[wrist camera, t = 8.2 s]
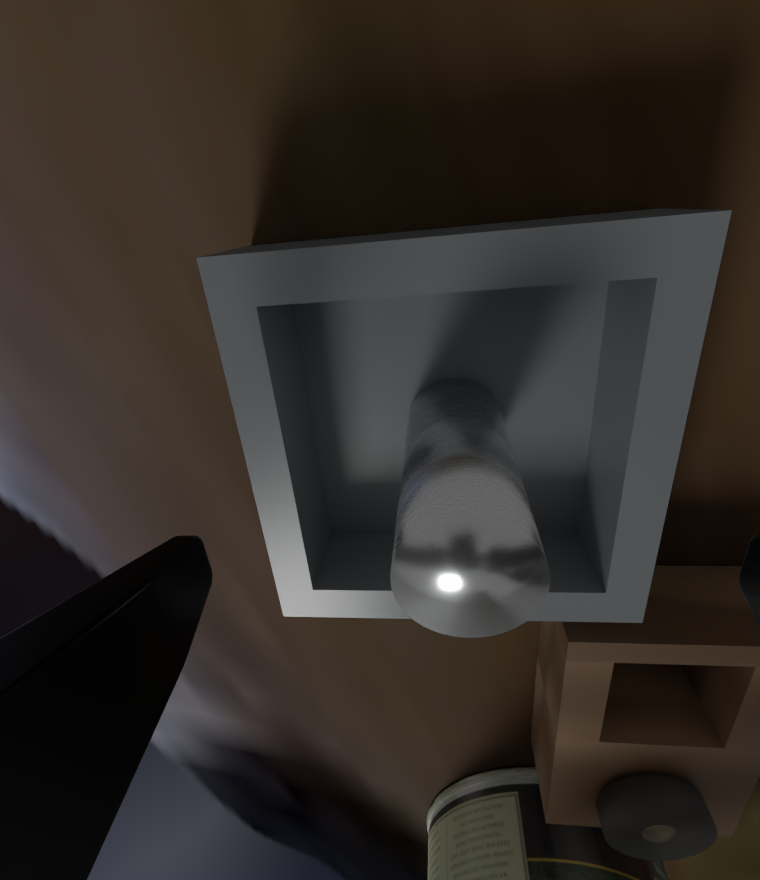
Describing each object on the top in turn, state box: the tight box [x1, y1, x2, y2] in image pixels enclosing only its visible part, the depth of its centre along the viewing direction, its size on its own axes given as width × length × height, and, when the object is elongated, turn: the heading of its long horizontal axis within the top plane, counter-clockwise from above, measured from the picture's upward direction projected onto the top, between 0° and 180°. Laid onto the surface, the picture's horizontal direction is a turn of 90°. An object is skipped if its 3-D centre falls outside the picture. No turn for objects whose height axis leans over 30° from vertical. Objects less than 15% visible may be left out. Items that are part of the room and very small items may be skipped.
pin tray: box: [197, 208, 732, 623], centre depth 12 cm, size 10×10×3 cm
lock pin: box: [390, 378, 550, 638], centre depth 10 cm, size 2×2×6 cm
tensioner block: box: [531, 566, 760, 861], centre depth 15 cm, size 9×6×4 cm, turn 5°
